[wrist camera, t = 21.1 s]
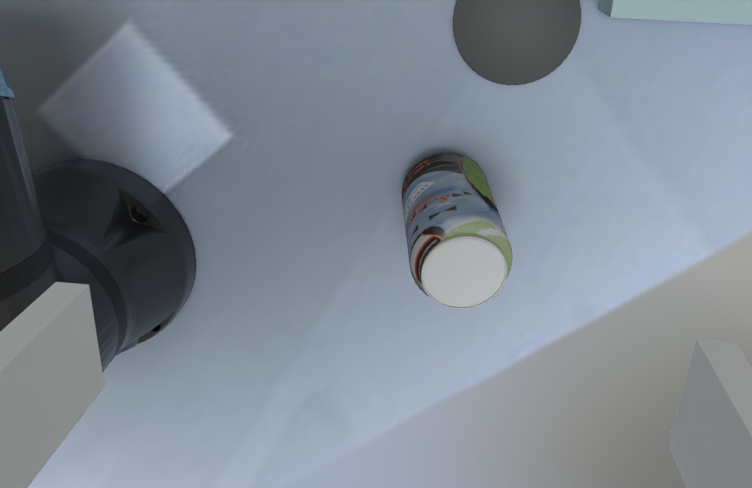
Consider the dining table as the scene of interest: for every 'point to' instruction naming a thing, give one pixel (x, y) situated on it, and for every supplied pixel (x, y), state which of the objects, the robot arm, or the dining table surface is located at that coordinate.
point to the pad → (515, 37)
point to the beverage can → (454, 232)
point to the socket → (681, 10)
